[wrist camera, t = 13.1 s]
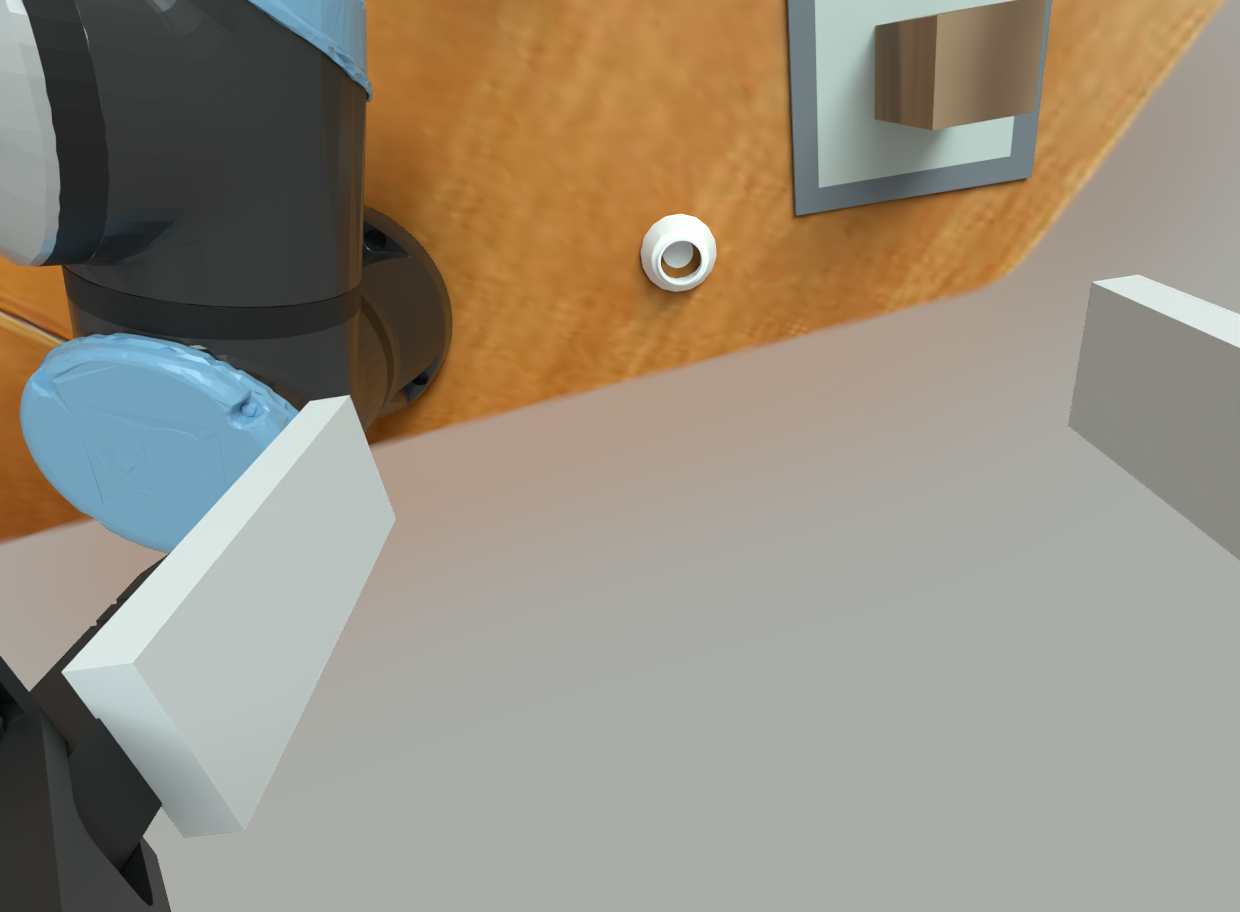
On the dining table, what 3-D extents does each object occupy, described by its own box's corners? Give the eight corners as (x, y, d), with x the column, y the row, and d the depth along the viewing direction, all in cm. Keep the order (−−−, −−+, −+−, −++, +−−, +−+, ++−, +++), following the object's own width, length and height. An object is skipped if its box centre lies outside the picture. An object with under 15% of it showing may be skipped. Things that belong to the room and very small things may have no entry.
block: (874, 119, 43) (932, 130, 36) (875, 25, 41) (937, 15, 33) (957, 104, 43) (1034, 112, 35) (963, 8, 41) (1046, -6, 33)
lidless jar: (626, 239, 47) (664, 301, 49) (627, 249, 45) (667, 314, 47) (692, 198, 46) (727, 263, 48) (696, 205, 44) (733, 274, 46)
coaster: (794, 214, 47) (796, 215, 46) (784, -62, 39) (786, -63, 39) (1028, 176, 46) (1031, 177, 45) (1061, -115, 38) (1065, -117, 38)
